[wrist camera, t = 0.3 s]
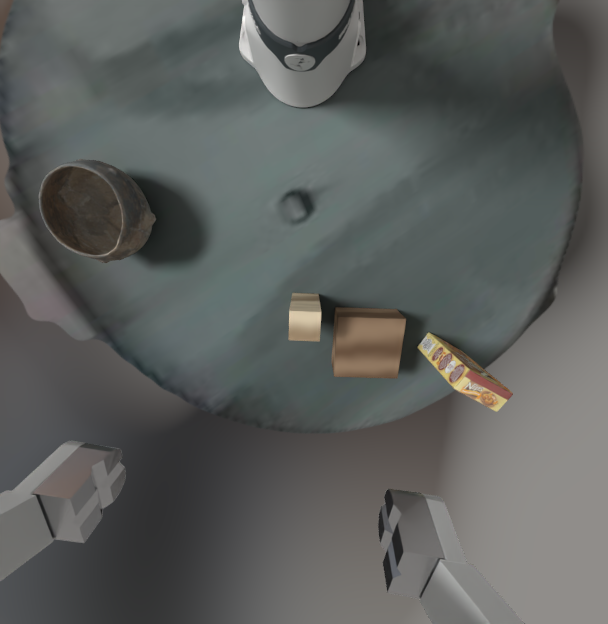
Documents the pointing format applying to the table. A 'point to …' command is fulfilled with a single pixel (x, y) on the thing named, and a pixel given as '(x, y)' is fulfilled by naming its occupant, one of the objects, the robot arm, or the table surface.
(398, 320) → the walnut block
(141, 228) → the bowl
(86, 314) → the table surface
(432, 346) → the candy box
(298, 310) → the maple block
